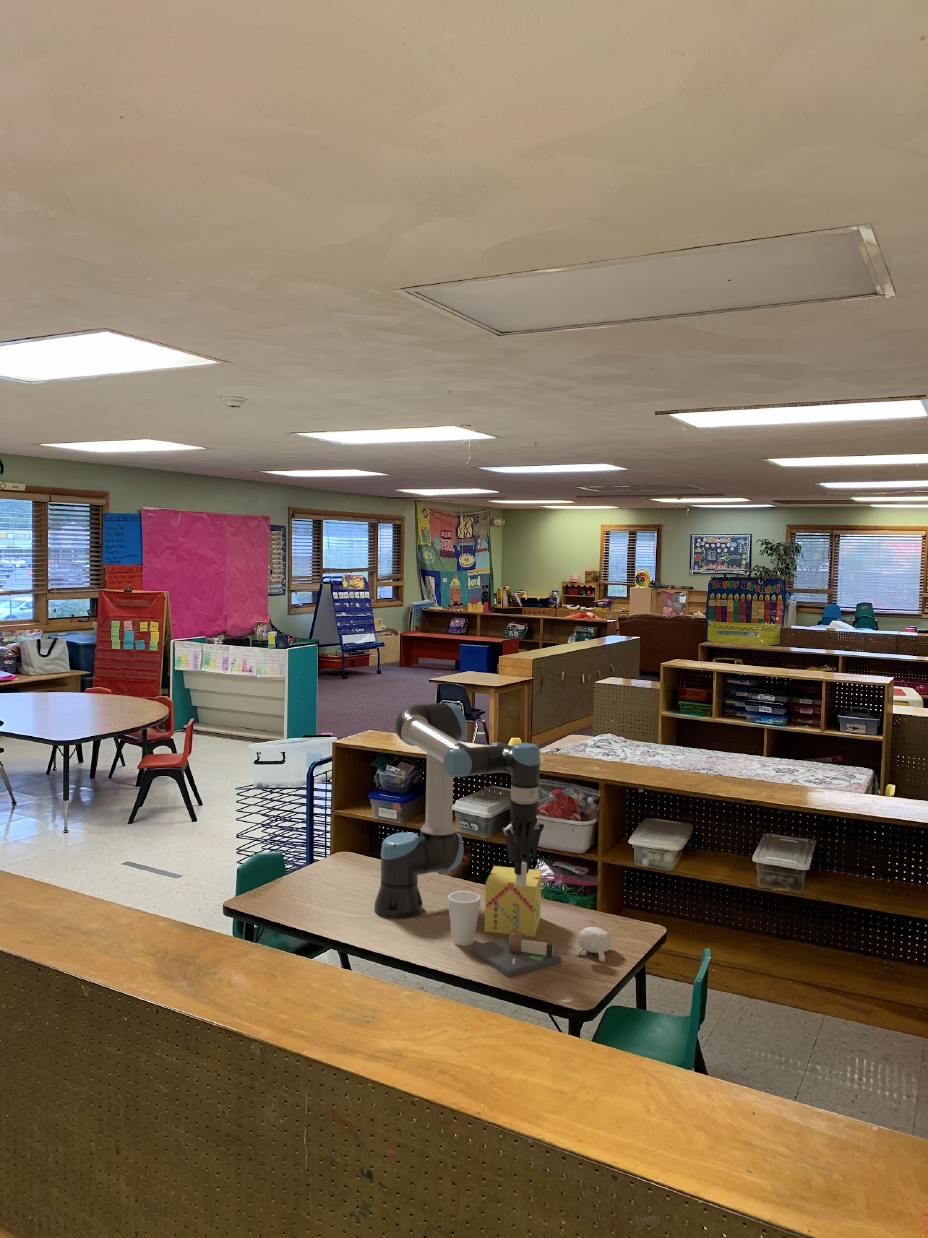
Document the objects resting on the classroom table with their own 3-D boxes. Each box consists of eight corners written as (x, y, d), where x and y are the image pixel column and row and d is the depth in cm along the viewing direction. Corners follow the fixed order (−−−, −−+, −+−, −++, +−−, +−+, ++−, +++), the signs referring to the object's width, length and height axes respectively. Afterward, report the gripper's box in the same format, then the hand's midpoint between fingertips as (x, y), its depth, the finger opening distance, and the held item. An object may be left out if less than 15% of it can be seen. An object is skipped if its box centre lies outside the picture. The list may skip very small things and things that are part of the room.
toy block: (534, 937, 253) (536, 886, 252) (484, 931, 256) (485, 882, 255) (540, 918, 268) (541, 870, 267) (492, 913, 271) (494, 866, 270)
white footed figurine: (583, 955, 248) (567, 955, 235) (587, 925, 250) (572, 922, 238) (612, 962, 244) (597, 961, 231) (616, 931, 247) (601, 929, 234)
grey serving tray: (470, 951, 242) (470, 945, 241) (522, 938, 251) (522, 933, 251) (507, 977, 226) (508, 970, 226) (561, 962, 236) (561, 956, 236)
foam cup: (459, 950, 242) (460, 905, 241) (440, 939, 249) (441, 895, 249) (485, 943, 248) (487, 898, 247) (466, 932, 255) (468, 889, 255)
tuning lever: (507, 952, 238) (508, 935, 237) (510, 947, 241) (511, 930, 241) (551, 959, 234) (551, 941, 234) (553, 953, 237) (554, 936, 237)
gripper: (512, 807, 228) (509, 894, 229) (551, 801, 235) (548, 886, 236) (496, 800, 234) (493, 885, 235) (535, 794, 241) (531, 877, 242)
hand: (520, 885), depth 236 cm, fingers closed
